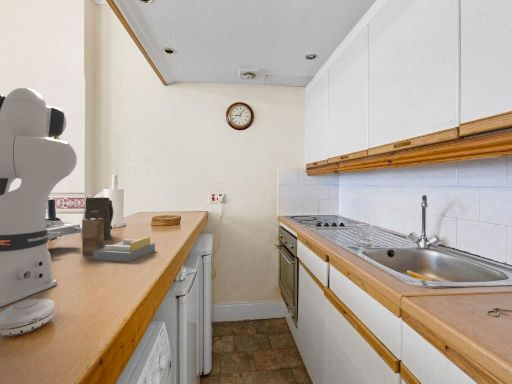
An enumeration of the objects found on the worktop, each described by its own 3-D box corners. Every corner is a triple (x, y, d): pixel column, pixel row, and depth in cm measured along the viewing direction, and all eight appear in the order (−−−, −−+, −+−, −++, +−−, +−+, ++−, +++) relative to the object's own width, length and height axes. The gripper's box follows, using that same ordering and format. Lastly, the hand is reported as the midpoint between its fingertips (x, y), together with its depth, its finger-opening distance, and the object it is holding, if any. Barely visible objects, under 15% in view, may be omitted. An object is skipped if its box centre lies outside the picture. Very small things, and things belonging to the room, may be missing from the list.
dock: (93, 259, 99) (93, 242, 99) (123, 248, 115) (123, 234, 115) (129, 261, 97) (129, 244, 96) (154, 250, 112) (154, 235, 112)
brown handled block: (94, 254, 106) (93, 212, 105) (82, 254, 107) (81, 211, 106) (104, 251, 111) (103, 210, 110) (92, 250, 112) (92, 210, 111)
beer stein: (102, 241, 128) (103, 197, 129) (78, 241, 128) (80, 197, 129) (119, 237, 143) (120, 197, 144) (98, 237, 144) (99, 197, 144)
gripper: (14, 227, 102) (46, 228, 100) (63, 220, 122) (90, 221, 120) (14, 244, 103) (46, 246, 100) (63, 234, 123) (91, 235, 120)
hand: (71, 232), depth 110 cm, fingers open, 8 cm apart
